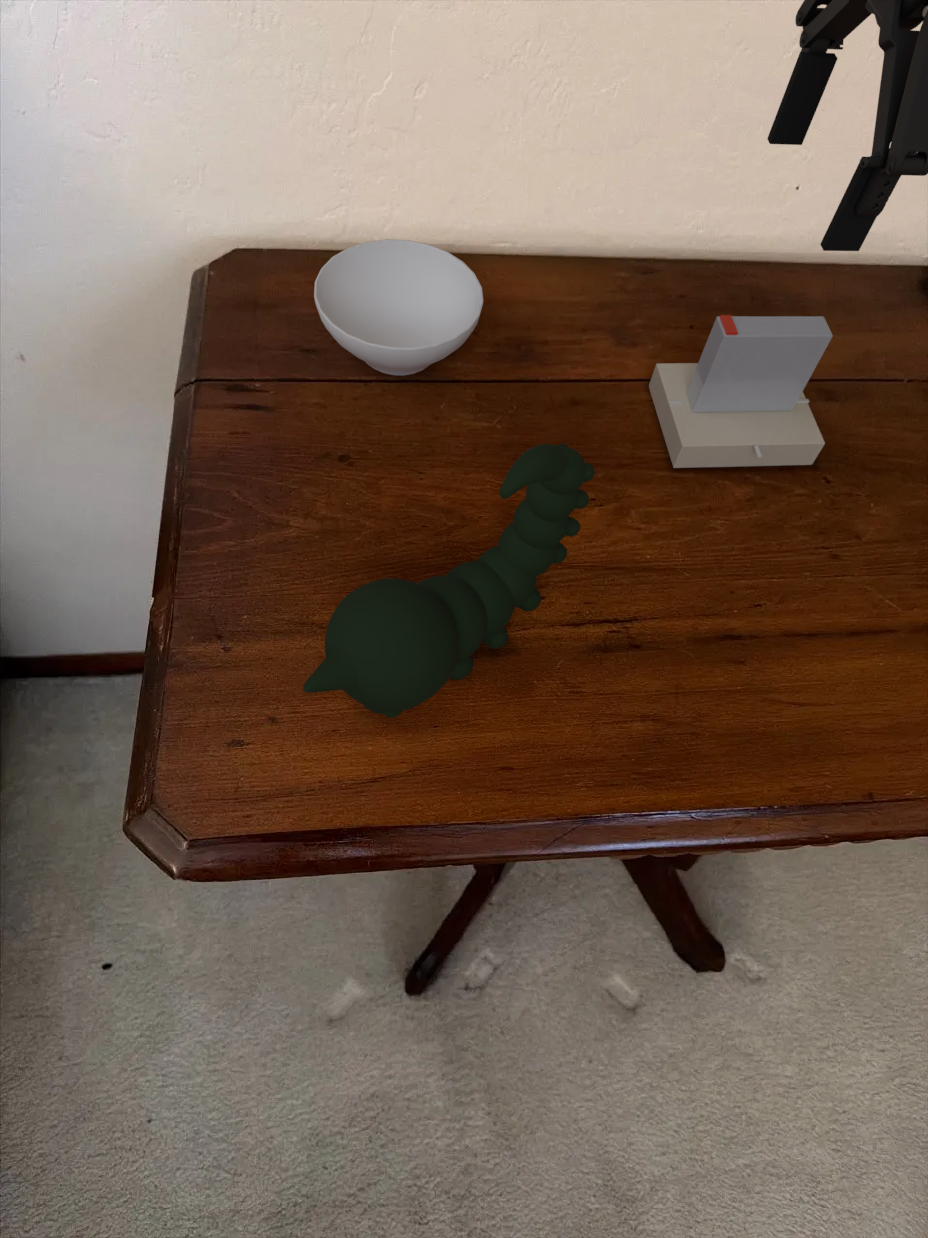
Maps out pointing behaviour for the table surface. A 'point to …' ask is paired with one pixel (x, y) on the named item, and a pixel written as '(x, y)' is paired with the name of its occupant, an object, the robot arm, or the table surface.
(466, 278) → the bowl
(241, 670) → the table surface
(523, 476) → the toy figurine
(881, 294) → the table surface
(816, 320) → the leaning grey slab
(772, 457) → the base
